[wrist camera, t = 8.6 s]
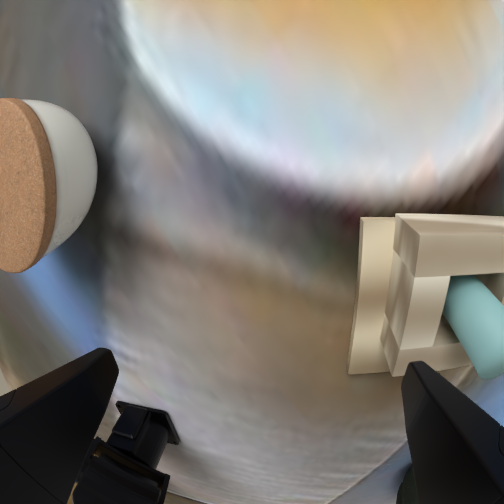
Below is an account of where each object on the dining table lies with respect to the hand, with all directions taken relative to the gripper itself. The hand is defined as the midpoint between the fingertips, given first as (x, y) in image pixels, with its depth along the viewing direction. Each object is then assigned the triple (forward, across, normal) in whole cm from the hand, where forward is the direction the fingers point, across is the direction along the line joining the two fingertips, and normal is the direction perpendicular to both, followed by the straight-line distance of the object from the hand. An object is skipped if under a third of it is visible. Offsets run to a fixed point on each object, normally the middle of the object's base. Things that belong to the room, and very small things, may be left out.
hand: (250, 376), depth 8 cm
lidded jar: (+12, +15, -6) cm, 21 cm away
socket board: (+12, -11, +4) cm, 17 cm away
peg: (+11, -12, +3) cm, 16 cm away
